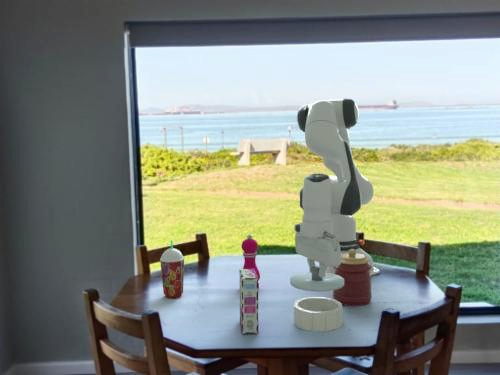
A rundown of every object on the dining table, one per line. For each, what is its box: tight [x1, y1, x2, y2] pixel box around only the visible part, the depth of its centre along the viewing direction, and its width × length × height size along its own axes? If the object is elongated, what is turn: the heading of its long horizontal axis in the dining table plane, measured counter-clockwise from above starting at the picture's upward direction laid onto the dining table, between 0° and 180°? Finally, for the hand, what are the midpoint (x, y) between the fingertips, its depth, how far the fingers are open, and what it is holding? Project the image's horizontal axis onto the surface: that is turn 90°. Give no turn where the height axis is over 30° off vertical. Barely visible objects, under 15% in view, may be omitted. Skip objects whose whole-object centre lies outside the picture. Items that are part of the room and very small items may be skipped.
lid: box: [289, 265, 344, 292], centre depth 155 cm, size 16×16×5 cm
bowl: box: [293, 296, 343, 332], centre depth 157 cm, size 14×14×6 cm
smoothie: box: [159, 240, 185, 300], centre depth 183 cm, size 8×8×20 cm
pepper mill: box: [241, 234, 261, 290], centre depth 190 cm, size 7×7×20 cm
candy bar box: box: [238, 268, 259, 335], centre depth 153 cm, size 11×5×16 cm, turn 5°
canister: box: [332, 249, 373, 307], centre depth 176 cm, size 13×13×18 cm
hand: (317, 274), depth 155 cm, fingers closed on lid, 3 cm apart
